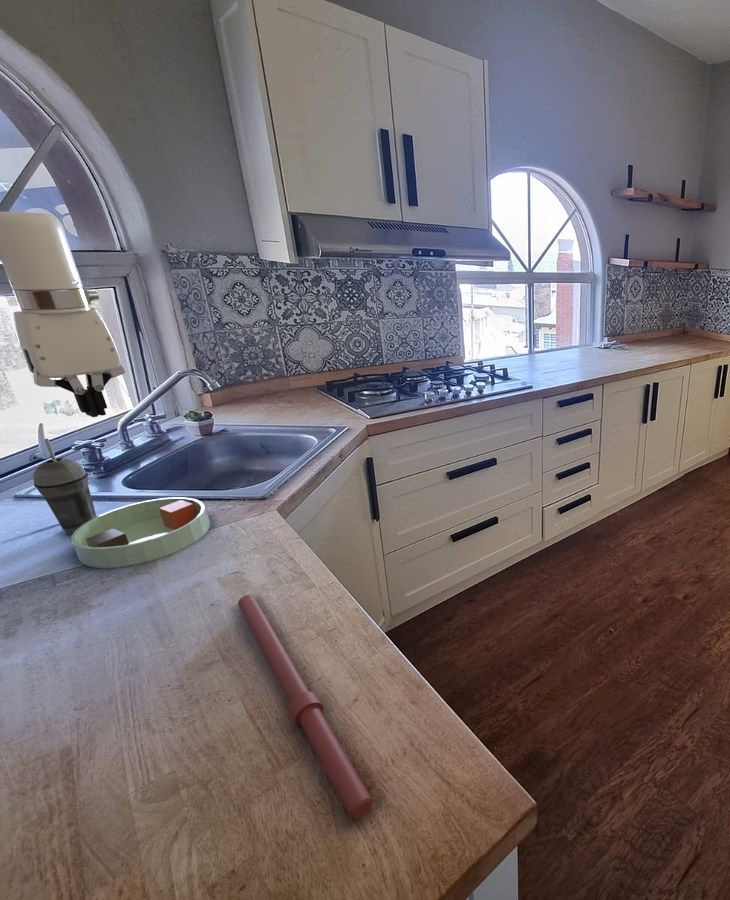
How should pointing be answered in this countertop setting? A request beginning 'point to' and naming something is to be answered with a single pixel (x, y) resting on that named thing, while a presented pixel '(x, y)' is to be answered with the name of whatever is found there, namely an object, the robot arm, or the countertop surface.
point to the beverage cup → (65, 491)
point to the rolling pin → (308, 713)
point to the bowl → (139, 534)
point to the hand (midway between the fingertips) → (96, 414)
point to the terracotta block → (177, 514)
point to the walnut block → (108, 539)
